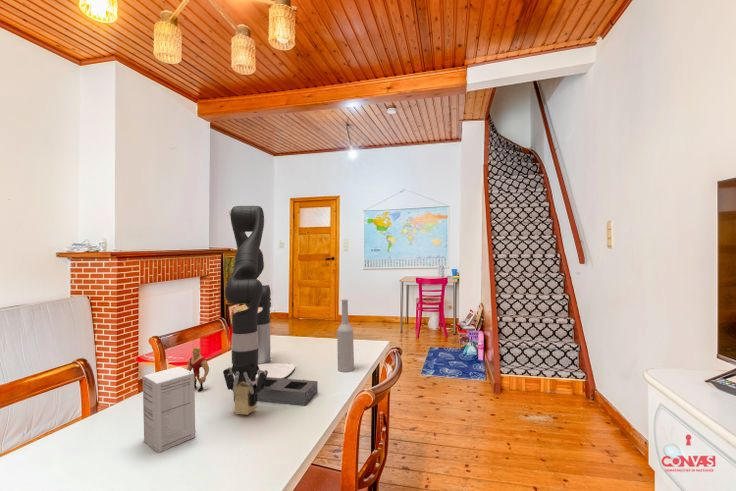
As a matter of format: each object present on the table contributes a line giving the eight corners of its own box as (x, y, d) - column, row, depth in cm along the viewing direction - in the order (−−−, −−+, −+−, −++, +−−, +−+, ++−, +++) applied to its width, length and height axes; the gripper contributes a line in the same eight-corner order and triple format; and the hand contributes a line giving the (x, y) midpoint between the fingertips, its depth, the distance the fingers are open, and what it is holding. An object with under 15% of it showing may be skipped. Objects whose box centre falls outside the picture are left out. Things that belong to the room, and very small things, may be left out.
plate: (298, 367, 149) (298, 363, 149) (284, 383, 131) (284, 379, 131) (256, 366, 150) (256, 362, 150) (236, 382, 132) (236, 378, 132)
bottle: (353, 371, 141) (352, 300, 141) (336, 372, 141) (335, 301, 142) (354, 366, 148) (353, 298, 148) (338, 366, 148) (337, 298, 148)
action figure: (181, 389, 125) (181, 346, 125) (190, 386, 129) (189, 344, 129) (202, 393, 122) (202, 348, 122) (210, 389, 125) (210, 346, 126)
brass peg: (234, 413, 104) (234, 385, 104) (243, 406, 109) (243, 380, 109) (248, 414, 103) (247, 387, 103) (256, 408, 108) (256, 381, 108)
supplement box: (181, 426, 99) (180, 365, 99) (196, 437, 93) (196, 372, 93) (142, 441, 91) (141, 375, 91) (156, 453, 85) (155, 383, 86)
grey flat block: (242, 399, 116) (242, 387, 116) (259, 387, 126) (259, 376, 126) (305, 405, 111) (305, 392, 111) (317, 393, 120) (317, 381, 121)
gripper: (215, 348, 104) (216, 407, 104) (259, 351, 101) (260, 412, 101) (231, 342, 112) (232, 397, 111) (273, 344, 108) (273, 401, 108)
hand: (245, 404), depth 106 cm, fingers closed on brass peg, 4 cm apart
